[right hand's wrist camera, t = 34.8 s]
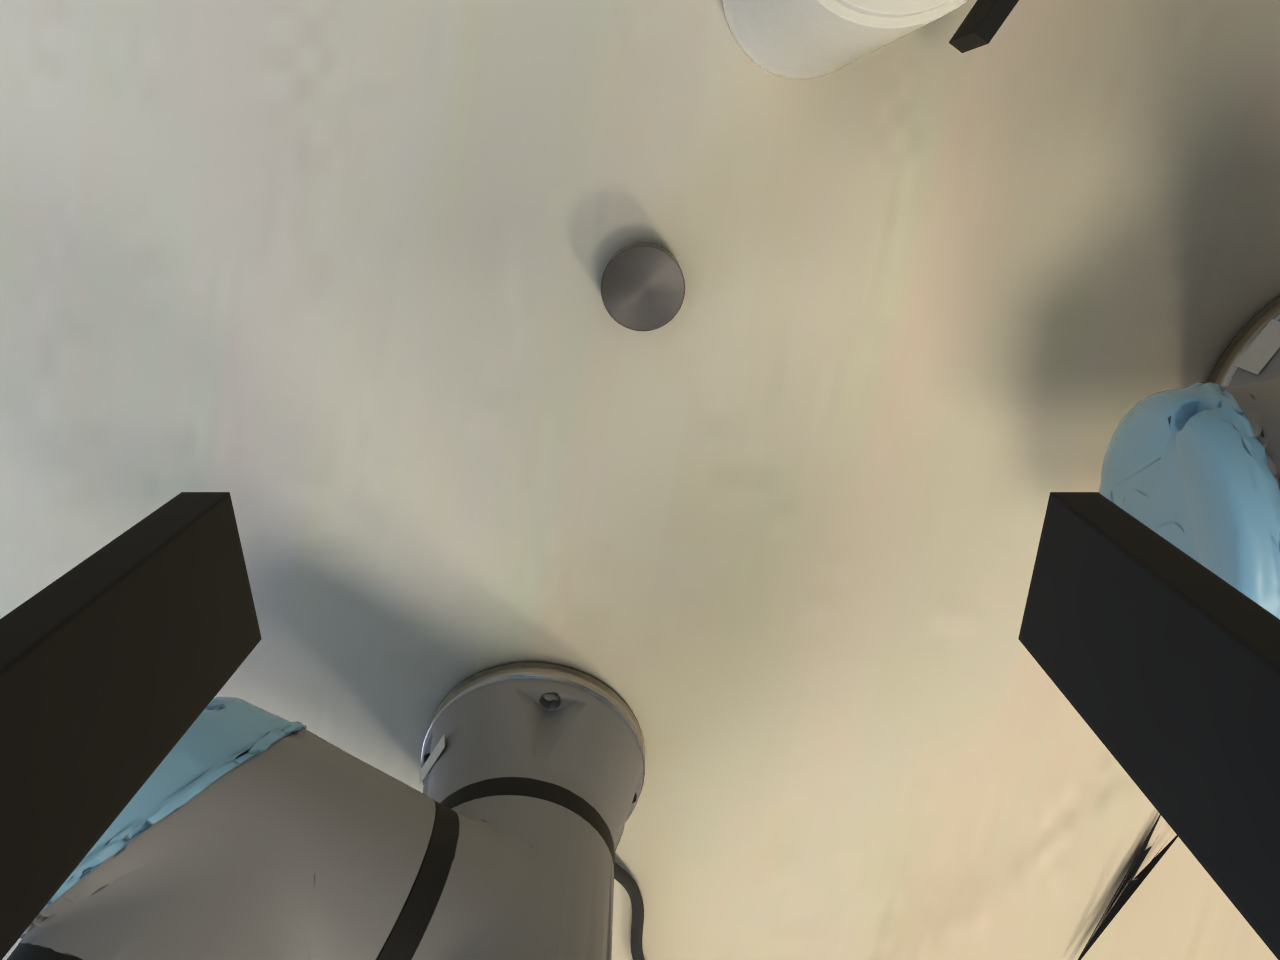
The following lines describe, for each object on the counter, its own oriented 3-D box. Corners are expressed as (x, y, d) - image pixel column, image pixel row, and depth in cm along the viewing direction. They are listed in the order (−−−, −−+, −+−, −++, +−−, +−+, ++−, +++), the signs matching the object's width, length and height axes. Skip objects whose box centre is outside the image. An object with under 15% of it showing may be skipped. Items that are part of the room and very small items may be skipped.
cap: (669, 231, 41) (671, 234, 39) (692, 311, 42) (694, 316, 41) (591, 257, 41) (589, 261, 40) (617, 334, 43) (616, 341, 41)
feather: (1007, 1031, 67) (1004, 1051, 65) (1164, 800, 56) (1166, 816, 54) (1027, 1045, 66) (1025, 1065, 65) (1191, 813, 55) (1193, 830, 54)
